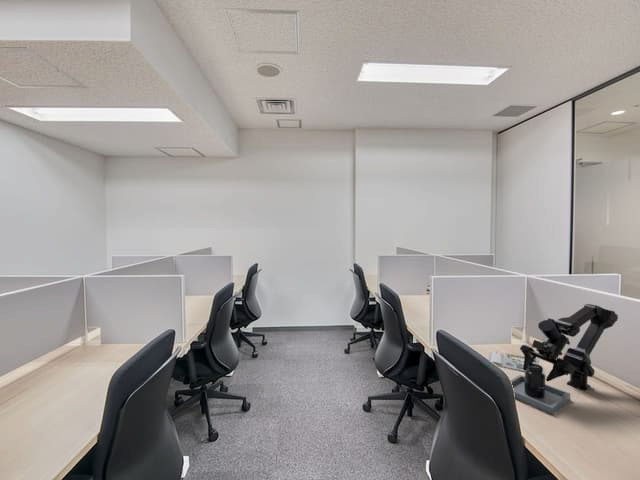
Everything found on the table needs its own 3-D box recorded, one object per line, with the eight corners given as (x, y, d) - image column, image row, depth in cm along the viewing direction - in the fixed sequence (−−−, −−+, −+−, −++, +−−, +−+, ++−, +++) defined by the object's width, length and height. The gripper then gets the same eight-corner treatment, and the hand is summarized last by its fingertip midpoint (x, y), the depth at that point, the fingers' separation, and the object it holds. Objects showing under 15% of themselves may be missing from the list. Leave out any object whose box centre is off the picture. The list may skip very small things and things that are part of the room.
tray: (520, 380, 131) (520, 374, 131) (570, 399, 116) (570, 393, 116) (500, 392, 121) (500, 386, 121) (552, 415, 106) (552, 408, 106)
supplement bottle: (543, 401, 114) (544, 371, 113) (522, 394, 118) (523, 365, 118) (546, 394, 118) (546, 365, 118) (526, 387, 123) (526, 360, 123)
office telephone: (487, 360, 147) (489, 347, 164) (487, 365, 147) (489, 352, 164) (545, 372, 134) (540, 356, 151) (545, 377, 134) (540, 361, 151)
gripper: (523, 326, 128) (504, 354, 125) (570, 341, 110) (549, 374, 107) (535, 341, 131) (517, 369, 128) (583, 359, 113) (563, 391, 110)
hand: (535, 375), depth 118 cm, fingers open, 9 cm apart
